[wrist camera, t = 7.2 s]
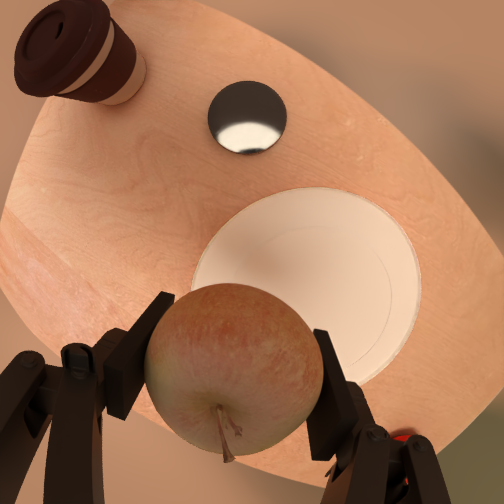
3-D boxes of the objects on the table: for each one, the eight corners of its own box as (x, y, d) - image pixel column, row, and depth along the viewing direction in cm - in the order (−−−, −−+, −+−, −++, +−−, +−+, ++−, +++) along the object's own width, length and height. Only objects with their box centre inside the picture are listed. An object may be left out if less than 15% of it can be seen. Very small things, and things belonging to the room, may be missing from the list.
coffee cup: (73, 99, 27) (-11, 76, 13) (116, 34, 25) (50, -19, 11) (126, 130, 28) (39, 108, 14) (175, 58, 26) (118, -9, 12)
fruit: (325, 361, 15) (357, 477, 8) (208, 393, 16) (183, 502, 9) (282, 238, 14) (304, 319, 6) (148, 287, 15) (65, 379, 7)
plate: (260, 422, 38) (260, 425, 37) (146, 262, 32) (144, 264, 31) (435, 340, 34) (438, 342, 33) (369, 144, 28) (372, 143, 27)
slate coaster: (219, 77, 27) (218, 75, 26) (293, 92, 27) (294, 89, 26) (201, 146, 29) (199, 145, 28) (276, 162, 29) (276, 162, 28)
